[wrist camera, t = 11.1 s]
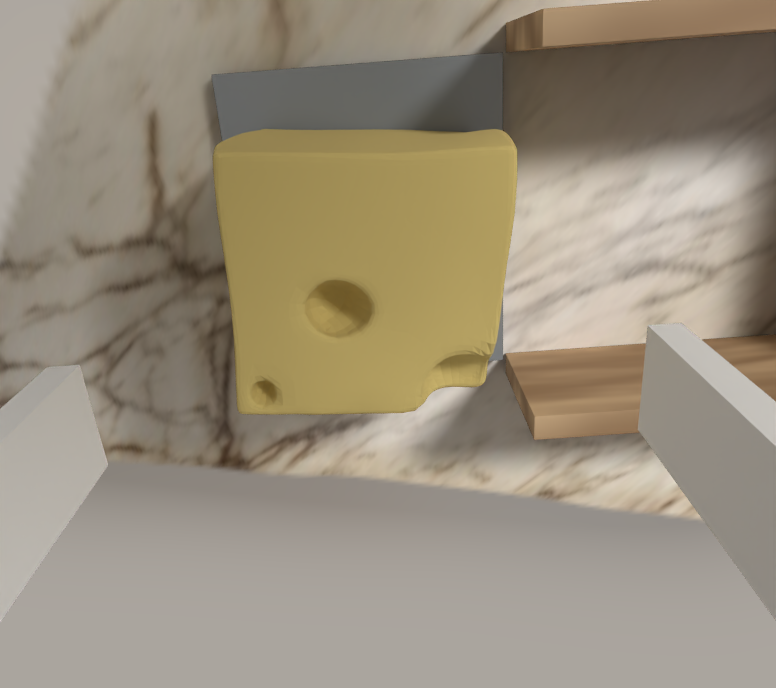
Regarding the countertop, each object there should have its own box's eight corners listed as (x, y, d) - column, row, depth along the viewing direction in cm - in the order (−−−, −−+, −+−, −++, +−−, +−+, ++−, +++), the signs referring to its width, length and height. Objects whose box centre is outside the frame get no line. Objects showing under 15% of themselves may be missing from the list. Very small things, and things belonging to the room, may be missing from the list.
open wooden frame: (506, 23, 29) (543, 8, 22) (920, -9, 29) (1079, -33, 22) (505, 373, 36) (534, 439, 29) (840, 349, 35) (944, 411, 29)
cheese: (469, 328, 34) (504, 425, 24) (263, 328, 33) (219, 425, 24) (482, 118, 30) (530, 139, 20) (247, 116, 29) (188, 137, 20)
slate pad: (215, 74, 29) (211, 74, 29) (499, 52, 29) (502, 52, 29) (263, 370, 35) (260, 376, 35) (500, 353, 35) (502, 359, 34)
